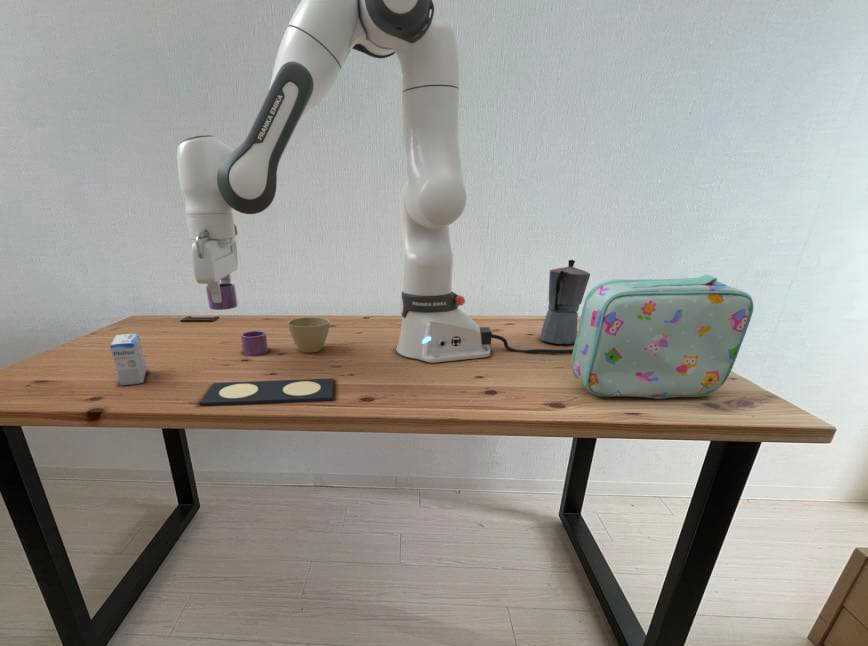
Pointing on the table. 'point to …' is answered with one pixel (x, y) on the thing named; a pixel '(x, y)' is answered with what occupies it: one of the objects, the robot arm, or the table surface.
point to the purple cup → (254, 343)
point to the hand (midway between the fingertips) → (222, 298)
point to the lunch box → (659, 337)
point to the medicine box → (128, 359)
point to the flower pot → (309, 333)
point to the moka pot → (564, 304)
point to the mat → (269, 392)
